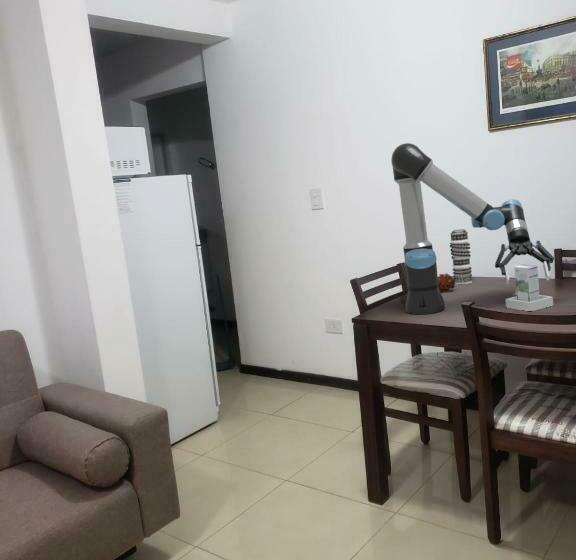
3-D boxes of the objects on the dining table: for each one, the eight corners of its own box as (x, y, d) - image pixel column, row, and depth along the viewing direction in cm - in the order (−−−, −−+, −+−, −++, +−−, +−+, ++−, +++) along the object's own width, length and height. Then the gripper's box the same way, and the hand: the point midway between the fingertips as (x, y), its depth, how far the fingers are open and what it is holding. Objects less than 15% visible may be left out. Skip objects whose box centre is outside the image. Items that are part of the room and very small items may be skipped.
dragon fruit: (456, 295, 244) (433, 298, 253) (462, 281, 248) (439, 284, 257) (446, 282, 240) (423, 285, 250) (452, 268, 245) (430, 271, 254)
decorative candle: (449, 284, 262) (444, 231, 259) (459, 280, 268) (455, 229, 265) (466, 285, 256) (462, 230, 252) (477, 281, 262) (472, 228, 258)
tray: (529, 311, 195) (529, 302, 194) (506, 307, 205) (505, 299, 204) (553, 305, 199) (552, 296, 198) (528, 301, 209) (528, 293, 208)
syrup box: (540, 303, 201) (538, 264, 199) (530, 307, 198) (527, 267, 196) (527, 302, 206) (524, 263, 204) (516, 305, 203) (513, 266, 201)
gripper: (551, 236, 213) (563, 282, 201) (483, 243, 219) (491, 288, 207) (554, 224, 208) (567, 270, 196) (483, 231, 213) (492, 277, 201)
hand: (528, 279), depth 201 cm, fingers open, 13 cm apart
